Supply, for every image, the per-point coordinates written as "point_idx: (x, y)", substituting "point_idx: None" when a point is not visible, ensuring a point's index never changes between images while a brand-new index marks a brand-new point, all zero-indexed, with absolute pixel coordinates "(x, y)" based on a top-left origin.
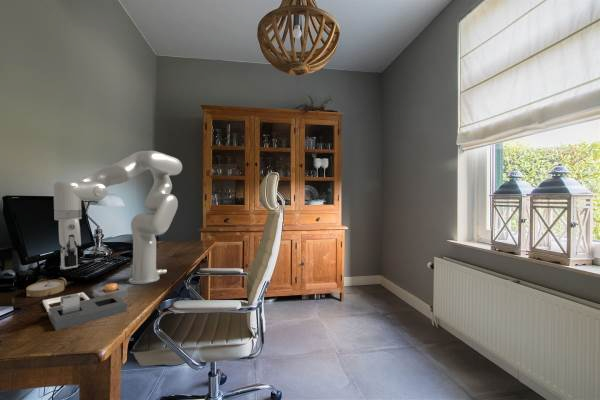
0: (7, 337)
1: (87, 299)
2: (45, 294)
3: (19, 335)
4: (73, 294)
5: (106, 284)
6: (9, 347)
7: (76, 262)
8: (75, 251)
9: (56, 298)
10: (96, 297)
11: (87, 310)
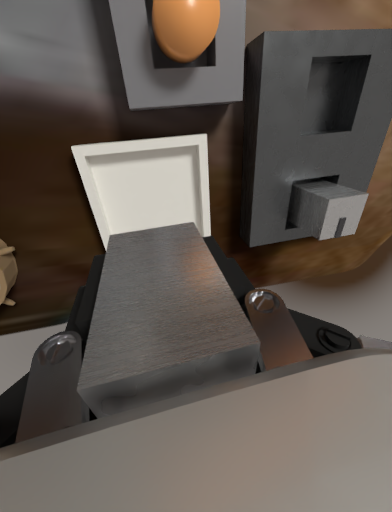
0: (286, 280)
1: (196, 143)
2: (11, 262)
3: (293, 268)
4: (332, 209)
5: (163, 34)
6: (329, 271)
7: (217, 244)
8: (290, 318)
9: (108, 232)
10: (181, 106)
11: (351, 163)
